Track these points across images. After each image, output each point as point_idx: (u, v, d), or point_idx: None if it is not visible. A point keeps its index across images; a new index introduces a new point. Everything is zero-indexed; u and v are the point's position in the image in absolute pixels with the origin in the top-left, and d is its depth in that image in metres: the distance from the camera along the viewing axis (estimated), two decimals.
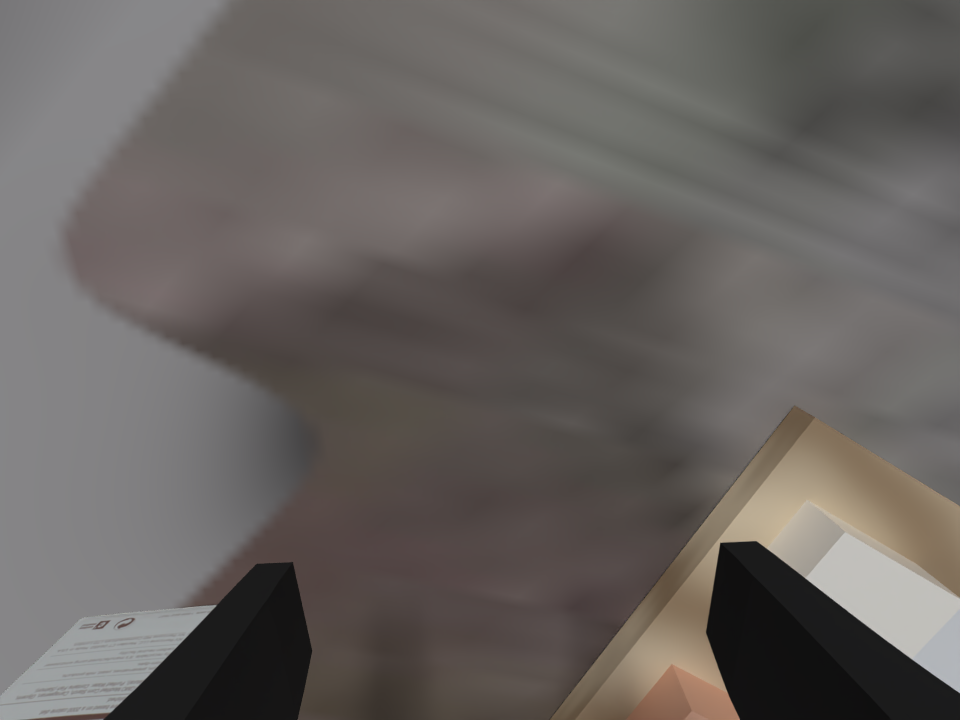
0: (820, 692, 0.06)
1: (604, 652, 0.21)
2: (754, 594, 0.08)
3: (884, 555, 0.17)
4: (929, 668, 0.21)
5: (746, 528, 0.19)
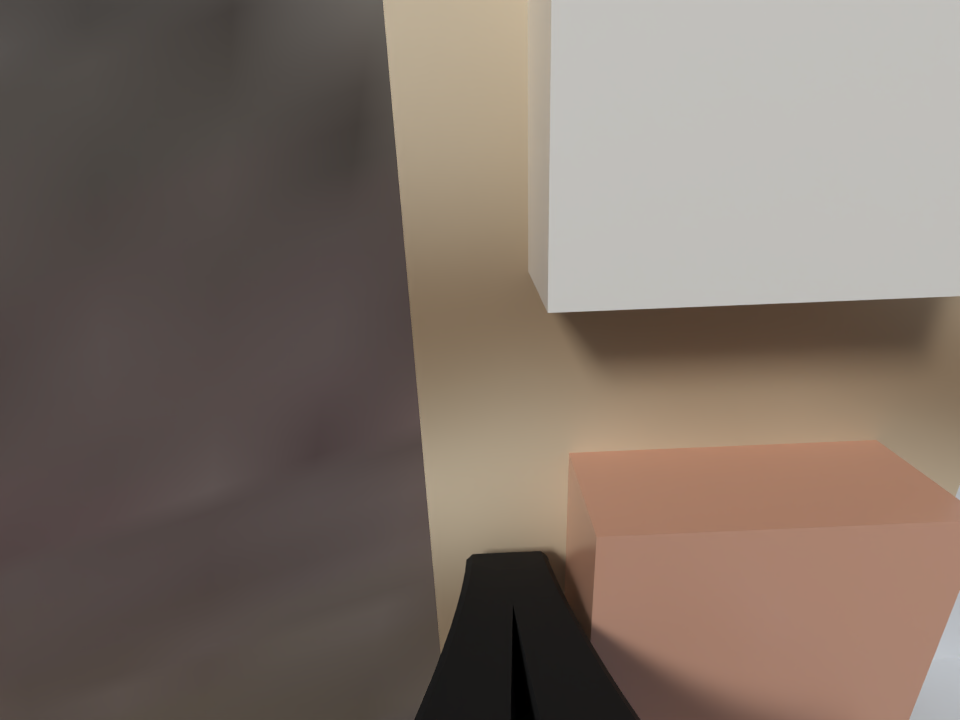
0: (529, 706, 0.06)
1: None
2: None
3: None
4: None
5: (435, 23, 0.06)
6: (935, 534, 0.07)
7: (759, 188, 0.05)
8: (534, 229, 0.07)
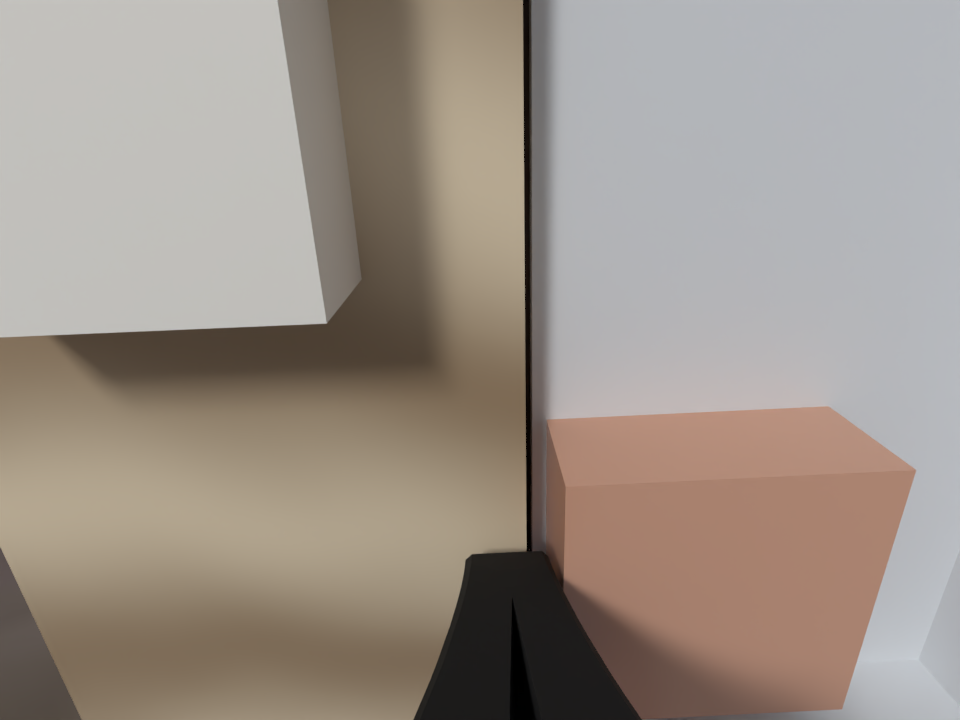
0: (530, 706, 0.06)
1: None
2: None
3: None
4: (681, 147, 0.08)
5: None
6: (870, 483, 0.08)
7: (8, 221, 0.05)
8: None
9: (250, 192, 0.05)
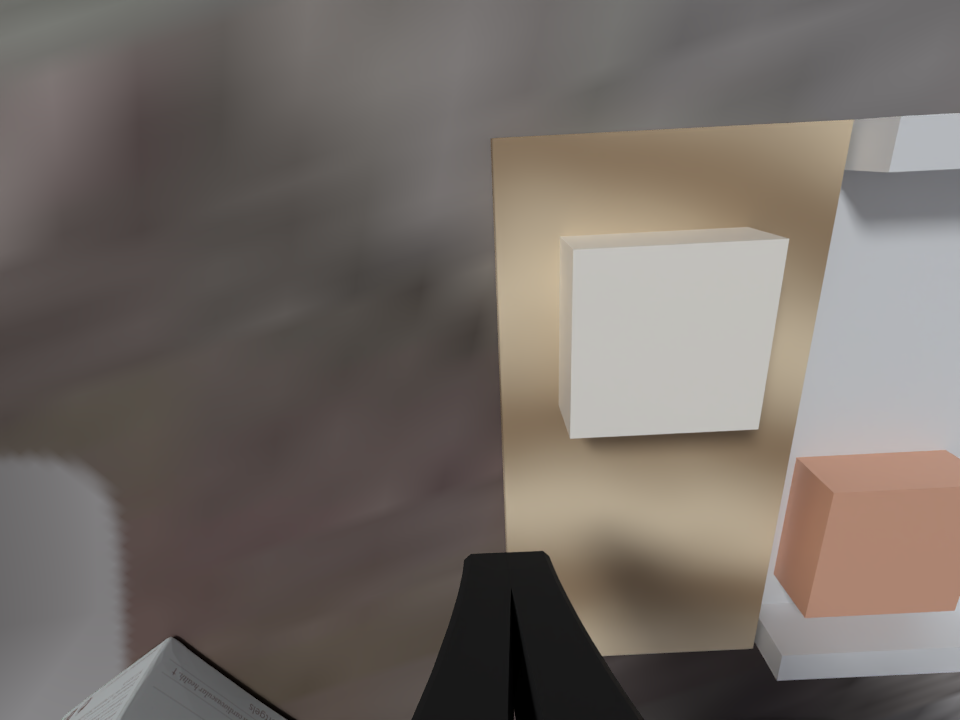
0: (532, 706, 0.06)
1: None
2: (512, 605, 0.08)
3: (643, 246, 0.12)
4: (872, 330, 0.16)
5: (519, 309, 0.15)
6: None
7: (650, 394, 0.14)
8: (562, 394, 0.15)
9: (744, 383, 0.14)
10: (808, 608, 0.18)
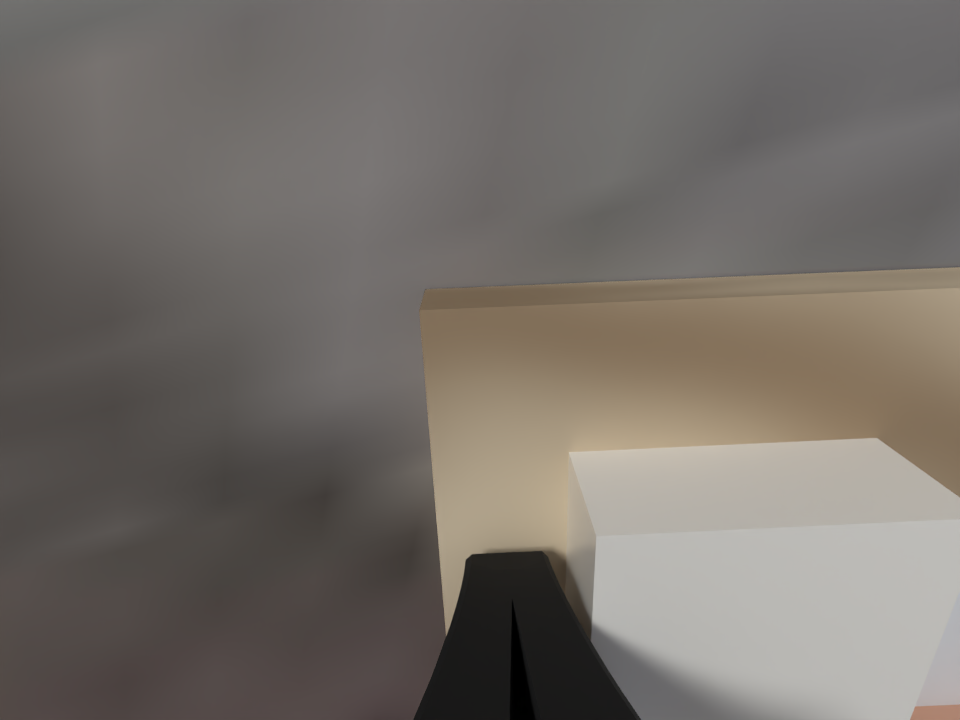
0: (530, 706, 0.06)
1: None
2: None
3: (724, 529, 0.07)
4: None
5: (473, 553, 0.09)
6: None
7: None
8: None
9: (877, 713, 0.08)
10: None
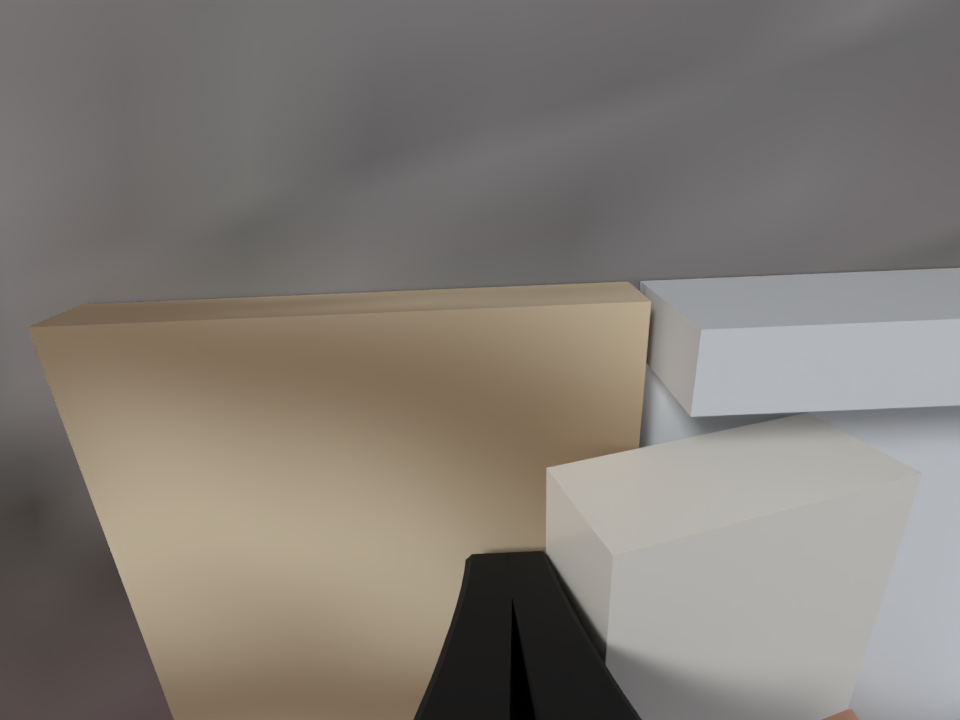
0: (530, 706, 0.06)
1: None
2: None
3: (725, 523, 0.07)
4: None
5: (151, 567, 0.09)
6: None
7: (717, 715, 0.08)
8: None
9: (839, 663, 0.09)
10: None
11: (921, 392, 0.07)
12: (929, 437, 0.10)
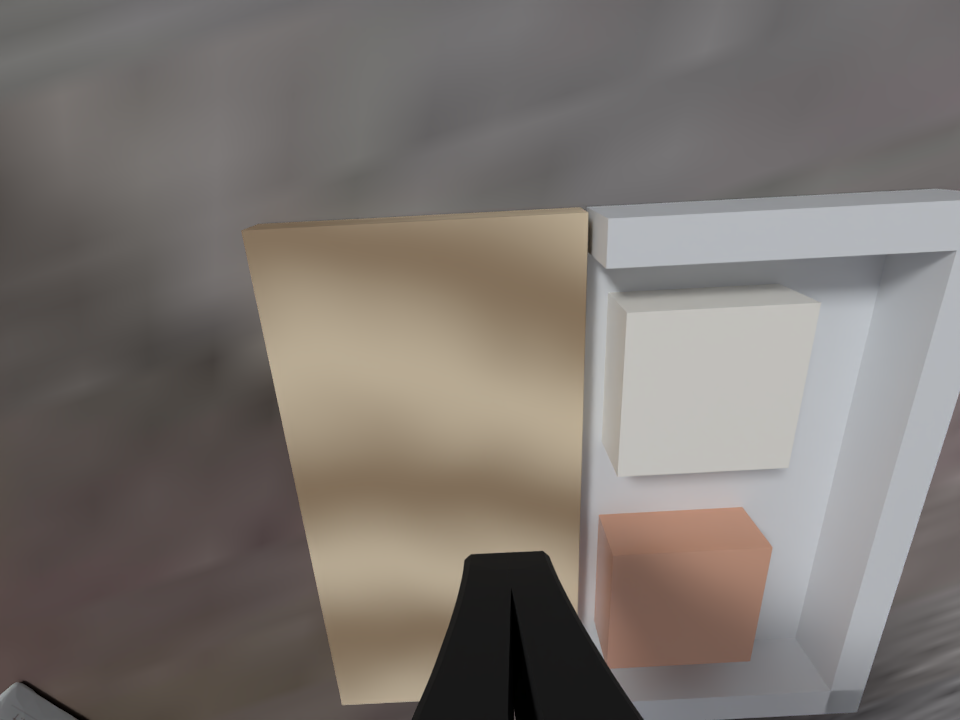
0: (532, 706, 0.06)
1: None
2: (512, 605, 0.08)
3: (690, 309, 0.14)
4: None
5: (295, 385, 0.16)
6: (752, 553, 0.17)
7: (692, 437, 0.15)
8: (608, 434, 0.17)
9: (777, 427, 0.15)
10: (608, 660, 0.18)
11: (728, 253, 0.13)
12: None
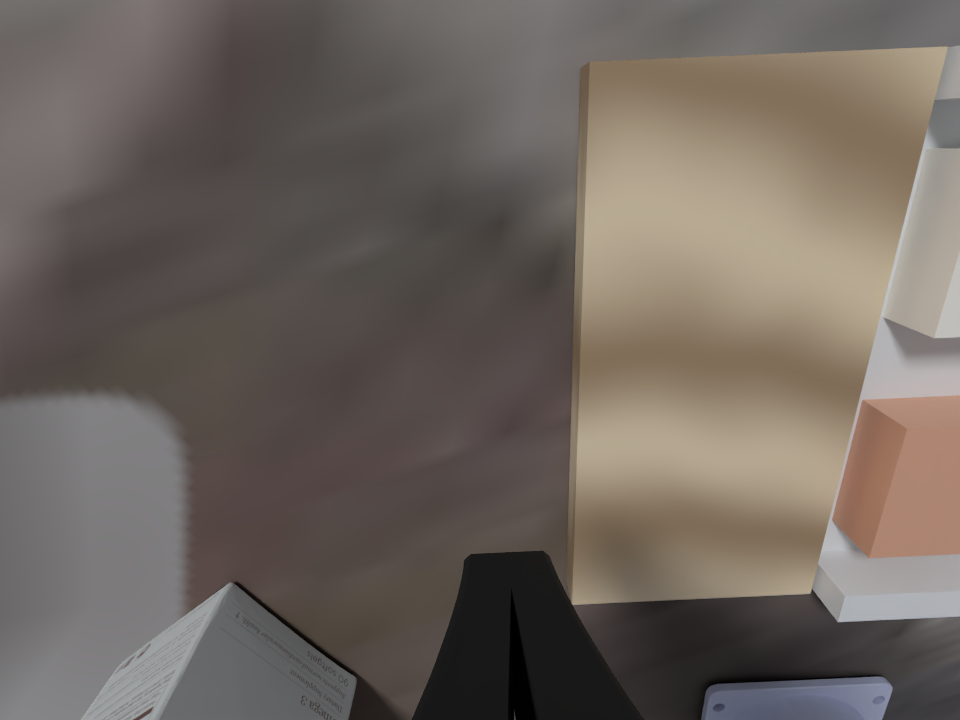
0: (532, 706, 0.06)
1: (570, 454, 0.19)
2: (512, 605, 0.08)
3: None
4: None
5: (604, 240, 0.15)
6: None
7: None
8: (906, 302, 0.16)
9: None
10: (873, 548, 0.18)
11: None
12: None
